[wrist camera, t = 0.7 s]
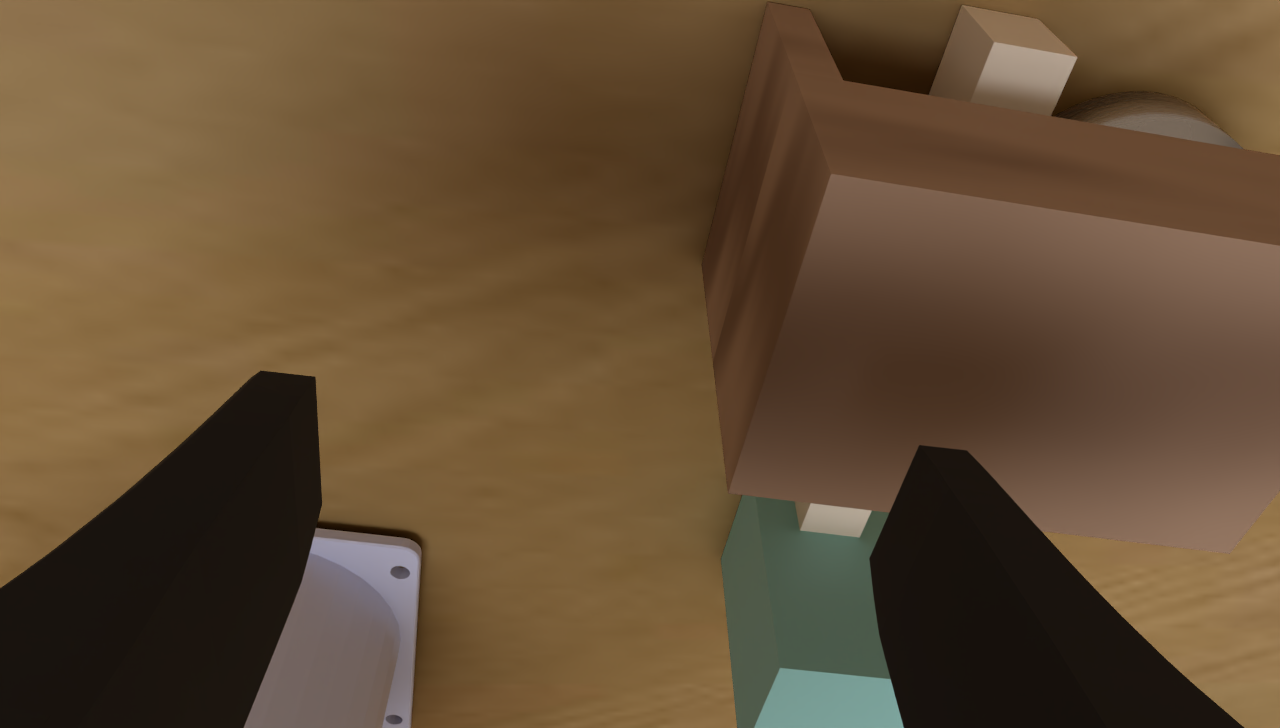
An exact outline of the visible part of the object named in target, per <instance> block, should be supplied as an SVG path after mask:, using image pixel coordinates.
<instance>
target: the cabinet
mask: <svg viewBox="0 0 1280 728" xmlns="http://www.w3.org/2000/svg"><path fill="white" fill-rule="evenodd" d="M702 272H703V280H704V289H705V298H706V306H707V315H708V324H709V332H710V341H711V350H712V358H713V367H714V376H715V384H716V393H717V402H718V410H719V419H720V428H721V436H722V445H723V454H724V462H725V471H726V480H727V488H728V493H730V494H738V495H747V496H755V497H763V498H771V499H780V500H788V501H796V502H805V503H813V504H821V505H830V506H838V507H846V508H855V509H863V510H871V511H879V512H888V513H889V512H890V510H891V508H892V506H893V503H894V501H895V499H896V496H897V494H898V492H899V490H900V487H901V485H902V483H903V481H904V478H905V476H906V474H907V471H908V469H909V467H910V465H911V462H912V460H913V458H914V456H915V453H916V451H917V449H918V446H919V445H924V446H933V447H942V448H950V449H959V450H967V451H968V452H969V453H970V454H971V455H972V456H973V457H974V458H975V459H976V460H977V461H978V462H979V463H980V464H981V465H982V466H983V467H984V468H985V470H986V471H987V472H988V473H989V474H990V475H991V476H992V477H993V478H994V479H995V480H996V481H997V483H998V484H999V485H1000V486H1001V487H1002V488H1003V489H1004V490H1005V491H1006V493H1007V494H1008V495H1009V496H1010V497H1011V498H1012V499H1013V500H1014V501H1015V503H1016V504H1017V505H1018V506H1019V507H1020V508H1021V509H1022V510H1023V511H1024V513H1025V514H1026V515H1027V516H1028V517H1029V518H1030V519H1031V520H1032V521H1033V523H1034V524H1035V525H1036V526H1037V527H1038V528H1039V529H1040V530H1041V531H1045V532H1054V533H1062V534H1070V535H1079V536H1087V537H1095V538H1104V539H1112V540H1120V541H1129V542H1137V543H1145V544H1153V545H1162V546H1170V547H1178V548H1187V549H1195V550H1203V551H1212V552H1220V553H1228V554H1230V553H1231V551H1232V550H1233V549H1234V548H1235V546H1236V545H1237V544H1238V543H1239V541H1240V540H1241V539H1242V538H1243V536H1244V535H1245V534H1246V533H1247V531H1248V530H1249V529H1250V528H1251V526H1252V525H1253V524H1254V523H1255V521H1256V520H1257V519H1258V518H1259V516H1260V515H1261V514H1262V513H1263V511H1264V510H1265V509H1266V508H1267V506H1268V505H1269V504H1270V502H1271V501H1272V500H1273V499H1274V497H1275V496H1276V495H1277V494H1278V492H1279V491H1280V155H1274V154H1268V153H1262V152H1256V151H1251V150H1245V149H1239V148H1233V147H1227V146H1221V145H1216V144H1210V143H1204V142H1198V141H1192V140H1187V139H1181V138H1175V137H1169V136H1163V135H1158V134H1152V133H1146V132H1140V131H1134V130H1128V129H1123V128H1117V127H1111V126H1105V125H1099V124H1094V123H1088V122H1082V121H1076V120H1070V119H1065V118H1059V117H1053V116H1047V115H1041V114H1035V113H1030V112H1024V111H1018V110H1012V109H1006V108H1001V107H995V106H989V105H983V104H977V103H972V102H966V101H960V100H954V99H948V98H942V97H937V96H931V95H925V94H919V93H913V92H908V91H902V90H896V89H890V88H884V87H879V86H873V85H867V84H861V83H855V82H849V81H844V80H843V79H842V77H841V75H840V73H839V70H838V68H837V66H836V64H835V62H834V60H833V58H832V56H831V53H830V51H829V49H828V47H827V45H826V43H825V41H824V39H823V37H822V34H821V32H820V30H819V28H818V26H817V24H816V22H815V20H814V17H813V15H812V13H811V11H810V9H805V8H799V7H794V6H788V5H782V4H777V3H771V2H767V6H766V10H765V14H764V18H763V22H762V26H761V30H760V34H759V38H758V42H757V46H756V50H755V54H754V58H753V62H752V66H751V70H750V74H749V78H748V82H747V86H746V90H745V94H744V98H743V102H742V106H741V110H740V114H739V118H738V122H737V126H736V130H735V134H734V138H733V142H732V146H731V150H730V154H729V158H728V162H727V166H726V170H725V174H724V178H723V182H722V186H721V190H720V194H719V198H718V202H717V206H716V210H715V214H714V218H713V222H712V226H711V230H710V234H709V238H708V242H707V246H706V250H705V254H704V258H703V262H702Z"/></svg>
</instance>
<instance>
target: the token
mask: <svg viewBox="0 0 1280 728" xmlns="http://www.w3.org/2000/svg"><path fill="white" fill-rule="evenodd" d="M1054 117H1059V118H1065V119H1070V120H1076V121H1082V122H1088V123H1094V124H1099V125H1105V126H1111V127H1117V128H1123V129H1128V130H1134V131H1140V132H1146V133H1152V134H1158V135H1163V136H1169V137H1175V138H1181V139H1187V140H1192V141H1198V142H1204V143H1210V144H1216V145H1221V146H1227V147H1233V148H1239V149H1243V148H1242V147H1241V146H1240V145H1239V144H1238V143H1237V142H1236V141H1234V140H1233V139H1232V138H1231V137H1230V136H1229V135H1228V134H1226V133H1225V132H1224V131H1223V130H1222V129H1221V128H1219V127H1218V126H1217V125H1216V124H1215V123H1214V122H1212V121H1211V120H1210V119H1209V118H1208V117H1207V116H1206V115H1204V114H1203V113H1202V112H1201V111H1200V110H1198V109H1197V108H1195V107H1194V106H1192V105H1191V104H1189V103H1187V102H1185V101H1183V100H1180V99H1178V98H1176V97H1173V96H1169V95H1165V94H1161V93H1153V92H1144V91H1141V92H1122V93H1115V94H1109V95H1105V96H1101V97H1097V98H1094V99H1091V100H1088V101H1085V102H1083V103H1080V104H1077V105H1075V106H1073V107H1071V108H1069V109H1067V110H1065V111H1063V112H1061V113H1059V114H1057V115H1056V116H1054Z"/></svg>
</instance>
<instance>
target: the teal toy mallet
mask: <svg viewBox="0 0 1280 728" xmlns="http://www.w3.org/2000/svg"><path fill="white" fill-rule="evenodd" d="M1076 60H1077V56H1076V55H1075V54H1074V53H1073V52H1072V51H1071V50H1070V49H1069V48H1068V47H1067V46H1066V45H1065V44H1064V43H1063V42H1062V41H1061V40H1060V39H1058V38H1057V37H1056V36H1055V35H1054V34H1053V33H1052V32H1051V31H1050V30H1049V29H1048V28H1047V27H1046V26H1045V25H1044V24H1043V23H1042V22H1041V21H1040V20H1039V19H1036V18H1030V17H1025V16H1019V15H1014V14H1009V13H1003V12H998V11H992V10H987V9H982V8H976V7H971V6H965V5H962V6H961V8H960V11H959V14H958V17H957V19H956V22H955V25H954V27H953V30H952V33H951V36H950V38H949V41H948V44H947V46H946V49H945V52H944V55H943V57H942V60H941V63H940V65H939V68H938V71H937V73H936V76H935V79H934V82H933V84H932V87H931V90H930V92H929V95H931V96H937V97H942V98H948V99H954V100H960V101H966V102H972V103H977V104H983V105H989V106H995V107H1001V108H1006V109H1012V110H1018V111H1024V112H1030V113H1035V114H1041V115H1047V116H1051V115H1052V112H1053V110H1054V108H1055V106H1056V104H1057V101H1058V99H1059V97H1060V95H1061V93H1062V90H1063V88H1064V86H1065V84H1066V82H1067V79H1068V77H1069V75H1070V73H1071V71H1072V68H1073V66H1074V64H1075V62H1076ZM888 515H889V513H888V512H879V511H871V510H863V509H855V508H846V507H838V506H830V505H821V504H813V503H805V502H796V501H788V500H780V499H771V498H763V497H755V496H747V495H742V498H741V501H740V504H739V507H738V510H737V513H736V516H735V519H734V522H733V525H732V528H731V531H730V534H729V536H728V539H727V542H726V545H725V548H724V551H723V554H722V557H721V565H722V575H723V586H724V596H725V606H726V617H727V627H728V637H729V648H730V658H731V668H732V679H733V689H734V699H735V710H736V720H737V728H904V727H903V723H902V719H901V716H900V712H899V708H898V705H897V701H896V697H895V694H894V690H893V686H892V682H891V679H890V675H889V671H888V667H887V663H886V660H885V656H884V652H883V648H882V644H881V640H880V636H879V630H878V624H877V617H876V610H875V603H874V595H873V587H872V578H871V569H870V561H869V558H870V556H871V553H872V551H873V549H874V547H875V544H876V542H877V540H878V537H879V535H880V533H881V531H882V528H883V526H884V524H885V522H886V519H887V517H888Z"/></svg>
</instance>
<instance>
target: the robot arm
mask: <svg viewBox="0 0 1280 728" xmlns="http://www.w3.org/2000/svg"><path fill="white" fill-rule="evenodd" d="M321 506H322V494H321V474H320V455H319V436H318V417H317V398H316V379H315V377H312V376H303V375H294V374H285V373H277V372H268V371H260V372H258V373H257V374H256V375H254V376H253V377H251V378H250V379H249V380H248V381H247V382H246V383H245V384H244V385H243V386H242V387H241V388H240V389H239V390H238V391H237V392H236V393H235V394H234V395H232V396H231V397H230V398H229V399H228V400H227V401H226V402H225V403H224V404H223V405H222V406H221V407H220V408H219V409H218V410H217V411H216V412H215V413H214V414H213V415H212V416H211V417H209V418H208V419H207V420H206V421H205V422H204V423H203V424H202V425H201V426H200V427H199V428H198V429H197V430H196V431H194V432H193V433H192V434H191V435H190V436H189V437H188V438H187V439H186V440H185V441H184V442H183V443H181V444H180V445H179V446H178V447H177V448H176V449H175V450H174V451H173V452H171V453H170V454H169V455H168V456H167V457H166V458H165V459H163V460H162V461H161V462H160V463H159V464H158V465H157V466H155V467H154V468H153V469H152V470H151V471H150V472H149V473H147V474H146V475H145V476H144V477H143V478H142V479H141V480H139V481H138V482H137V483H136V484H135V485H134V486H133V487H131V488H130V489H129V490H128V491H127V492H126V493H124V494H123V495H122V496H121V497H120V498H118V499H117V500H116V501H115V502H114V503H112V504H111V505H110V506H108V507H107V508H106V509H105V510H103V511H102V512H101V513H100V514H98V515H97V516H96V517H95V518H93V519H92V520H91V521H90V522H88V523H87V524H86V525H85V526H83V527H82V528H81V529H79V530H78V531H77V532H76V533H74V534H73V535H72V536H71V537H69V538H68V539H67V540H66V541H64V542H63V543H62V544H61V545H59V546H58V547H57V548H55V549H54V550H53V551H51V552H50V553H49V554H47V555H46V556H45V557H43V558H42V559H41V560H39V561H38V562H36V563H35V564H34V565H32V566H31V567H30V568H28V569H27V570H26V571H24V572H23V573H21V574H20V575H19V576H17V577H16V578H14V579H13V580H11V581H10V582H9V583H7V584H6V585H4V586H3V587H1V588H0V728H411V722H412V705H413V689H414V672H415V656H416V639H417V622H418V606H419V589H420V573H421V556H422V551H421V547H420V546H419V545H418V544H417V543H416V542H414V541H412V540H411V539H407V538H402V537H393V536H384V535H375V534H366V533H357V532H348V531H339V530H330V529H321V528H316V526H317V522H318V518H319V514H320V510H321ZM869 561H870V569H871V578H872V587H873V595H874V603H875V610H876V617H877V624H878V630H879V636H880V640H881V644H882V648H883V652H884V656H885V660H886V663H887V667H888V671H889V675H890V679H891V682H892V686H893V690H894V694H895V697H896V701H897V705H898V708H899V712H900V716H901V719H902V723H903V727H904V728H1244V727H1243V726H1242V725H1240V724H1239V723H1238V722H1237V721H1236V720H1235V719H1233V718H1232V717H1231V716H1230V715H1229V714H1228V713H1226V712H1225V711H1224V710H1223V709H1222V708H1221V707H1219V706H1218V705H1217V704H1216V703H1215V702H1214V701H1212V700H1211V699H1210V698H1209V697H1208V696H1207V695H1205V694H1204V693H1203V692H1202V691H1201V690H1200V689H1198V688H1197V687H1196V686H1195V685H1194V684H1193V683H1192V682H1190V681H1189V680H1188V679H1187V678H1186V677H1185V676H1184V675H1183V674H1182V673H1181V672H1179V671H1178V670H1177V669H1176V668H1175V667H1174V666H1173V665H1172V664H1171V663H1170V662H1168V661H1167V660H1166V659H1165V658H1164V657H1163V656H1162V655H1161V654H1160V653H1159V652H1158V651H1157V650H1156V649H1155V648H1154V647H1153V646H1152V645H1151V644H1150V643H1149V642H1148V641H1147V640H1146V639H1145V638H1144V637H1143V636H1142V635H1140V634H1139V633H1138V632H1137V631H1136V630H1135V629H1134V628H1133V627H1132V626H1131V625H1130V624H1129V623H1128V622H1127V621H1126V620H1125V619H1124V618H1123V617H1122V616H1121V615H1120V614H1119V613H1118V612H1117V611H1116V610H1115V609H1114V608H1113V607H1112V606H1111V605H1110V604H1109V603H1108V602H1107V601H1106V600H1105V599H1104V598H1103V597H1102V596H1101V595H1100V594H1099V593H1098V592H1097V591H1096V590H1095V588H1094V587H1093V586H1092V585H1091V584H1090V583H1089V582H1088V581H1087V580H1086V579H1085V578H1084V577H1083V576H1082V575H1081V574H1080V573H1079V572H1078V571H1077V569H1076V568H1075V567H1074V566H1073V565H1072V564H1071V563H1070V562H1069V561H1068V560H1067V559H1066V558H1065V557H1064V555H1063V554H1062V553H1061V552H1060V551H1059V550H1058V549H1057V548H1056V547H1055V546H1054V545H1053V543H1052V542H1051V541H1050V540H1049V539H1048V538H1047V537H1046V536H1045V535H1044V534H1043V533H1042V531H1041V530H1040V529H1039V528H1038V527H1037V526H1036V525H1035V524H1034V523H1033V521H1032V520H1031V519H1030V518H1029V517H1028V516H1027V515H1026V514H1025V513H1024V511H1023V510H1022V509H1021V508H1020V507H1019V506H1018V505H1017V504H1016V503H1015V501H1014V500H1013V499H1012V498H1011V497H1010V496H1009V495H1008V494H1007V493H1006V491H1005V490H1004V489H1003V488H1002V487H1001V486H1000V485H999V484H998V483H997V481H996V480H995V479H994V478H993V477H992V476H991V475H990V474H989V473H988V472H987V471H986V470H985V468H984V467H983V466H982V465H981V464H980V463H979V462H978V461H977V460H976V459H975V458H974V457H973V456H972V455H971V454H970V453H969V452H968V451H967V450H959V449H950V448H942V447H933V446H924V445H919V446H918V449H917V451H916V453H915V456H914V458H913V460H912V462H911V465H910V467H909V469H908V471H907V474H906V476H905V478H904V481H903V483H902V485H901V487H900V490H899V492H898V494H897V496H896V499H895V501H894V503H893V506H892V508H891V510H890V512H889V515H888V517H887V519H886V522H885V524H884V526H883V528H882V531H881V533H880V535H879V537H878V540H877V542H876V544H875V547H874V549H873V551H872V553H871V556H870V558H869ZM398 566H402V567H405V568H401V567H398Z"/></svg>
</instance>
